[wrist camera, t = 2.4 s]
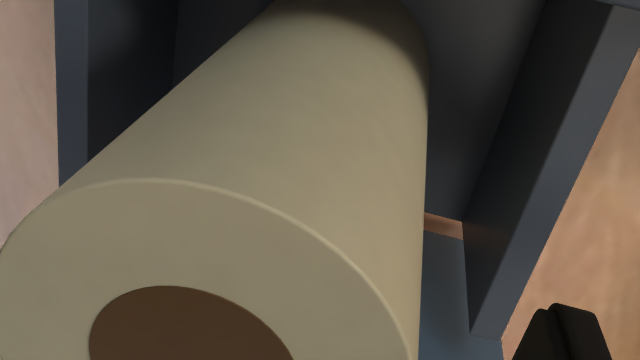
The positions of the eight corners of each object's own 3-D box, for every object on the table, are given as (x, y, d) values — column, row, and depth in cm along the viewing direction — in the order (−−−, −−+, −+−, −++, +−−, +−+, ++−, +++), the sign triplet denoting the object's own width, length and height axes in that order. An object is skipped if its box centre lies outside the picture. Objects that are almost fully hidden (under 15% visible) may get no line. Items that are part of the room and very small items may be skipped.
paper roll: (263, -44, 17) (-37, 122, 6) (454, 2, 17) (481, 260, 6) (238, 129, 20) (1, 451, 9) (402, 171, 20) (358, 557, 9)
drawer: (445, 353, 24) (447, 510, 18) (133, 267, 25) (40, 393, 19) (629, -87, 16) (740, -56, 10) (156, -195, 17) (4, -224, 11)
